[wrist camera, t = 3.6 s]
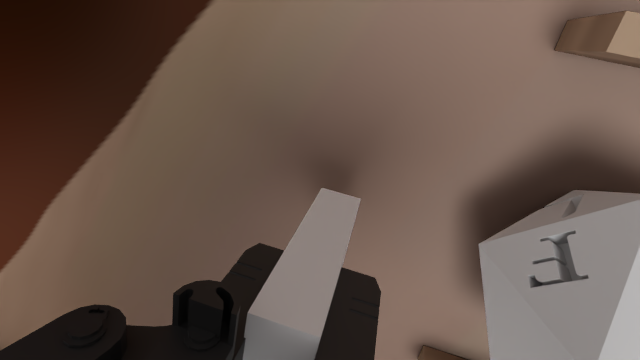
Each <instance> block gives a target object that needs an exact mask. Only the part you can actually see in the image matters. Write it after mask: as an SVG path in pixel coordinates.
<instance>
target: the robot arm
mask: <svg viewBox="0 0 640 360" xmlns="http://www.w3.org/2000/svg"><path fill="white" fill-rule="evenodd" d="M360 201H361V199H360V198H357V197H353V196H350V195H346V194H343V193H339V192H336V191H332V190H328V189H325V188H321V190H320V192H319V193H318V195H317V197H316V198H315V200H314V202H313V203H312V205H311V207H310V208H309V210H308V212H307V213H306V215H305V217H304V218H303V220H302V222H301V224H300V225H299V227H298V229H297V230H296V232H295V234H294V235H293V237H292V239H291V240H290V242H289V244H288V245H287V247H286V249H285V250H284V251H283V250H280V249H277V248H274V247H271V246H267V245H264V244H261V243H259V244H257V245H255V246H253V247H251V248H249V249H247V250H246V251H245V252H244V253H243V255H242V256H241V257H240V258H239V260H238V261H237V263H236V264H235V265H234V266H233V267H232V269H231V270H230V272H229V273H228V274H227V275H226V276H225V278H224V279H223V280H222V281H221V282H217V281H212V280H205V281H195V282H193V283H190V284H187V285H184V286H183V287H181V288H180V289H179V290H177V291H176V292H175V293H173V323H172V325H169V326H159V327H151V326H130V325H126V317H125V316H124V315H123V314H122V312H121V311H120V310H119V309H116V308H114V307H111V306H109V305H91V306H86V307H81V308H78V309H75V310H73V311H71V312H68V313H66V314H64V315H62V316H60V317H59V318H57V319H55V320H53V321H52V322H50V323H48V324H46V325H45V326H43V327H41V328H39V329H38V330H36V331H34V332H32V333H31V334H29V335H27V336H25V337H24V338H22V339H20V340H18V341H17V342H15V343H13V344H11V345H10V346H8V347H6V348H4V349H2V350H1V351H0V360H374V355H375V345H376V335H377V325H378V316H379V306H380V296H381V291H380V289H379V286H378V284H377V281H376V279H375V278H374V277H371V276H368V275H364V274H361V273H358V272H355V271H352V270H348V269H345V268H342V266H343V263H344V259H345V256H346V252H347V248H348V245H349V241H350V237H351V234H352V230H353V227H354V223H355V219H356V216H357V212H358V208H359V205H360Z"/></svg>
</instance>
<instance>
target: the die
mask: <svg viewBox="0 0 640 360" xmlns="http://www.w3.org/2000/svg"><path fill="white" fill-rule="evenodd" d="M479 253H480V263H481V273H482V282H483V292H484V302H485V312H486V322H487V332H488V342H489V352H490V360H640V194H638V193H620V192H603V191H586V190H573V191H571V192H569V193H567V194H566V195H564V196H562V197H560V198H559V199H557V200H555V201H553V202H552V203H550V204H548V205H546V206H545V207H544V208H542V209H539V210H537V211H536V212H534V213H532V214H530V215H529V216H527V217H525V218H523V219H522V220H520V221H518V222H516V223H515V224H513V225H511V226H509V227H507V228H506V229H504V230H502V231H500V232H499V233H497V234H495V235H493V236H492V237H490V238H488V239H486V240H485V241H483V242H481V243H479Z"/></svg>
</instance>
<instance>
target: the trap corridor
mask: <svg viewBox="0 0 640 360" xmlns="http://www.w3.org/2000/svg"><path fill="white" fill-rule="evenodd" d="M555 51H560V52H565V53H570V54H574V55H579V56H584V57H589V58H594V59H599V60H604V61H609V62H613V63H618V64H623V65H628V66H633V67H638V68H640V13H636V12H631V11H622V12H615V13H609V14H603V15H597V16H591V17H585V18H578V19H572V20H568V21H567V23H566V25H565V28H564V30H563V32H562V34H561V37H560V39H559V41H558V43H557V46H556V48H555ZM418 360H466V359H463V358H460V357H457V356H454V355H451V354H448V353H445V352H442V351H439V350H436V349H433V348H430V347H427V346H424V345H423V348H422V350H421V352H420V354H419V357H418Z"/></svg>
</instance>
